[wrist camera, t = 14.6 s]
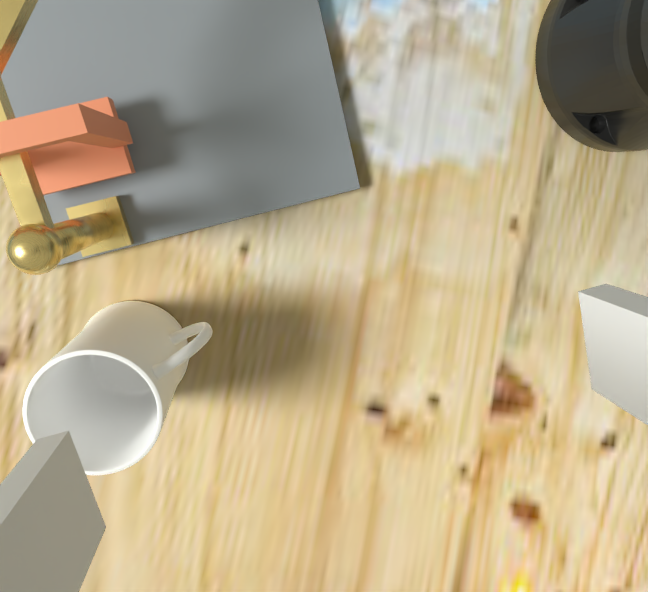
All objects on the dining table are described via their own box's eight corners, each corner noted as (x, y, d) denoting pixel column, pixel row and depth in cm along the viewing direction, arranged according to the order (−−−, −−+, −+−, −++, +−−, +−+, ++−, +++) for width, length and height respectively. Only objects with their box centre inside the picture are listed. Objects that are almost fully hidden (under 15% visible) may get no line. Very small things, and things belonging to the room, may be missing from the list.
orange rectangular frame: (-10, 128, 38) (-128, 109, 26) (122, 96, 38) (65, 64, 27) (17, 201, 39) (-84, 214, 27) (145, 170, 40) (99, 169, 28)
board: (294, -93, 40) (295, -101, 39) (357, 187, 45) (360, 188, 43) (-60, -14, 38) (-70, -20, 37) (43, 267, 43) (38, 270, 42)
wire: (216, -32, 39) (194, -145, 25) (278, 206, 43) (289, 223, 29) (3, 17, 38) (-143, -73, 24) (86, 255, 42) (1, 297, 28)
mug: (197, 266, 45) (177, 299, 33) (243, 360, 47) (239, 423, 35) (58, 327, 44) (-12, 382, 33) (111, 418, 46) (62, 501, 35)
